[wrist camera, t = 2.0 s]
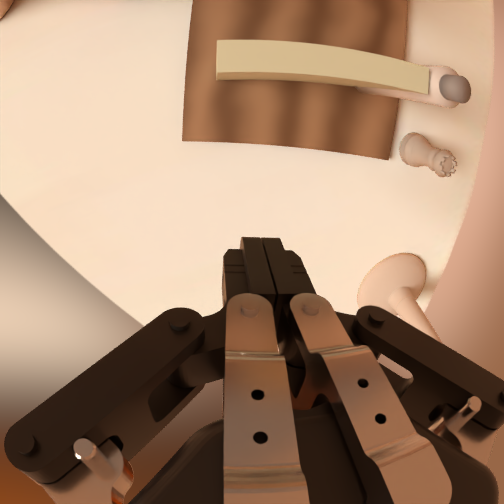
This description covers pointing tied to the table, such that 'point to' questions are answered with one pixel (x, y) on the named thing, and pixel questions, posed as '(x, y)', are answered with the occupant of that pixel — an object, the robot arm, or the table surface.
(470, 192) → the table surface
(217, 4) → the board
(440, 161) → the rook chess piece
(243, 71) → the hinge
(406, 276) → the candlestick
